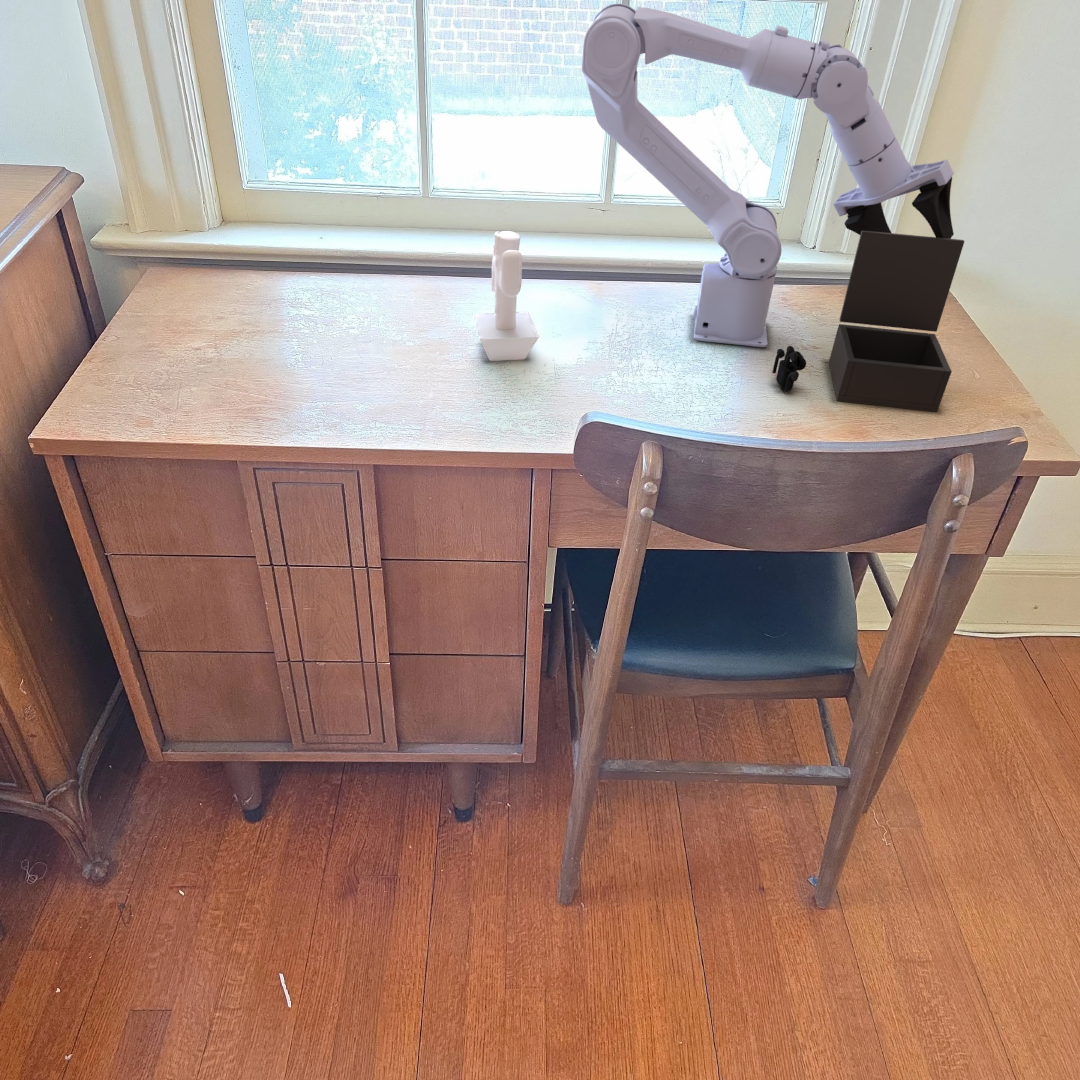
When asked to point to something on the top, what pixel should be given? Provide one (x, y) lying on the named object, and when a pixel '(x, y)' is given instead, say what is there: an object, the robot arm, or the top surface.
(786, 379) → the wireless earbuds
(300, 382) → the top surface
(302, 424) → the top surface
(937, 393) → the case
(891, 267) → the case lid
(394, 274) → the top surface
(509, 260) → the figurine
